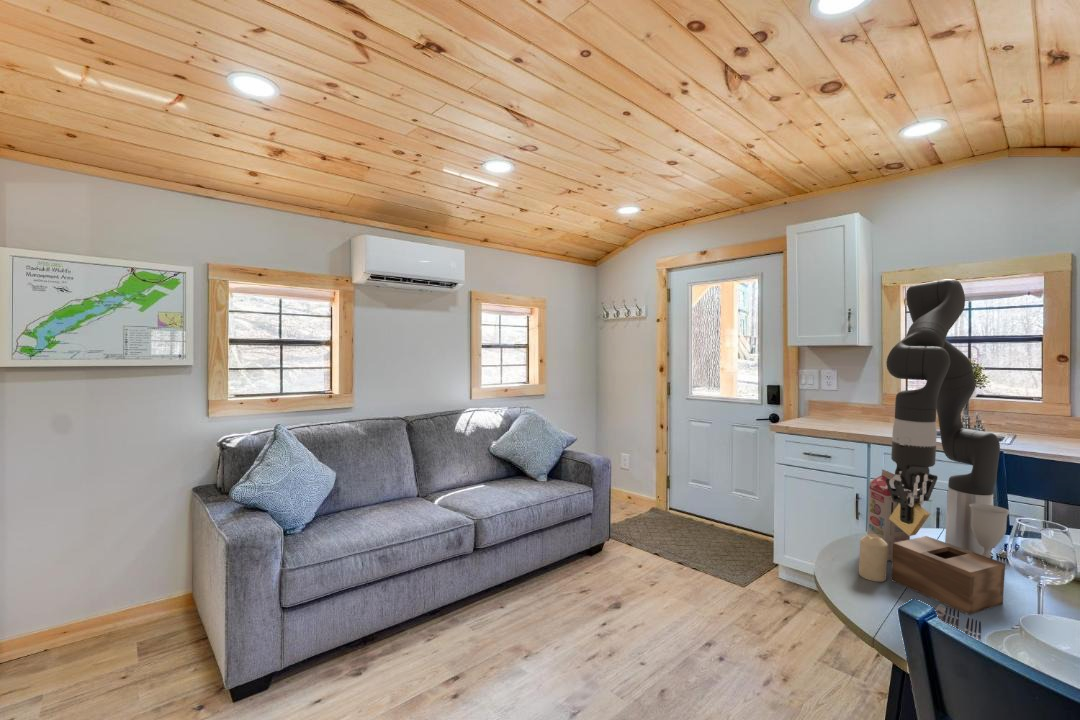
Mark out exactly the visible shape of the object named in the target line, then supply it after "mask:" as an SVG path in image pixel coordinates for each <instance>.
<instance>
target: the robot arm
mask: <svg viewBox="0 0 1080 720" xmlns="http://www.w3.org/2000/svg"><path fill="white" fill-rule="evenodd" d="M965 295H966V294H965V291H964V288H963V285H962V284H961V282H960V281H959V280H957V279H954V278H947V279H939V280H935V281H929V282H923V283H919V284H914V285H910V286H909V287H908V288H907V290H906V294H905V299H906V305H907V309H908V312H909V316H910V318H911V321H912V324H911V325H910V326H909V329H908V331H907V334H906V335H905V337H904V338H903V339H902V340H900V341H899V342H898V343H896V344H895V345H894V346H893V347H892V348H891V349H890V352H889V353H888V355H887V357H886V358H887V359H886V364H885V365H886V369H887V371H888V373H889V374H890V375H891V376H893V377H894V378H896V379H900V380H914V381H915V380H918V381H926V383H925V384H924V386H923V387H921V388H919V389H910V390H902V391H899V392H898V393H896V395H895V403H894V404H895V405H894V421H893V426H892V435H891V437H892V439H891V460H892V461H893V462H894V463H895V464H896V468H895V471H894V474H895V476H894V477H893V478H892V479H890V478H887V479H886V484H887V487H888V489H889V492H890V494H891V497H892V500H893V501H894V502H897V503H900V520H901V521H902V522H904V523H907V524H911V523H912V518H913V505H914V502H915V503H917V504H918V505H919V506H921V507H922V506H923V504H924V503H925V502H929V500H930V498H931V496H932V493H933V491H934V488H935V486H936V484H937V481H938V475H936V474H933V473H930V468H931V467H934V466H935V465H936V454H937V451H936V450H937V439H938V438H937V435H938V432H937V431H938V430H937V420H938V426H939V433H940V435H939V436H940V442H941V447H942V451H943V453H944V455H945V456H946V457H947V459H948V460H950V461H953V462H956V463H962V464H966V465H970V466H972V468H971V472H970V473H966V474H954V475H951V476H950V477H949V479H948V485H947V486H948V487H947V489H948V490H947V504H946V505H947V507H946V521H945V536H944V537H945V538H944V542H945V543H948V544H951V545H954V546H956V547H959V548H962V549H965V550H968V551H971V552H974V553H977V554H979V555H982V554H983V553H984V547H982V546H981V545H979V543H978V541H977V539H976V537H975V535H974V533H973V530H972V528H971V515H972V510H971V508H970V506H969V505H970V504H987V505H993V506H994V491H995V486H996V483H997V477H998V468H999V460H1000V453H1001V445H1000V444H1001V443H1000V440H999V438H998V436H997V434H995V433H993V432H988V431H984V430H977V429H971V428H965V426H964V425H963V421H962V411H963V409H964V408H965V406H966V405H967V404H968V401H969V400H970V399H971V398H972V397H973V394H974V392H975V390H976V380H975V373H974V371H973V370H974V369H973V367H972V366H973V364H972V363H971V361H970V359H969V358H968V356H967V355H965V354H964V353H963V352H962V351H961V350H959V348H957V347H956V346H955V345H953V343H951V342H950V341H948V340H947V339H946V338H947V336H948V333H949V332H950V329H951V328H952V327H953V326H954V325H955V323H956V322H957V321H958V319H959V318H960V317H961V315H962V314H963V313H964V312H963V311H964V309H965V306H966V296H965ZM905 489H906V490H905ZM906 495H908V499H907V497H906ZM991 550H992V548H990V551H989V552H990V553H991Z"/></svg>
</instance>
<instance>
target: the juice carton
mask: <svg viewBox="0 0 1080 720" xmlns="http://www.w3.org/2000/svg"><path fill="white" fill-rule="evenodd" d="M894 476H895V473H893V472H890V471H888V470H885V469H881V475H879V476H878V477H875V478H873V479H872V480H870V481H869V487H868V488H869V490H868V505H867V507H868V509H867V510H868V511H867V527H866V535H867V534H876V535H877V536H879V537H880V538H882V539H883V540H884V541H885V542H886V543H887V544H888V550H887V560H892V558H893V543H895V542H900V541H905V540H910V539H911V536H909V535H908V534H906V533H905V532H904V531H903V530H902V529H900V528H899V527H898V526H897V525H896V524H895V523H893V522H892V521H891V520H890V519H889V518H890V516H891V514H892V513H893V511H894V510H895V508H896V507H897V505H898V504H899V503H897V502H894V501H893V500H892V497H891V494H890V492H889V489H888V487H887V484H886V479H887V478H890V479H892V478H893V477H894ZM905 490H906V489H905ZM906 497H908V495H906Z"/></svg>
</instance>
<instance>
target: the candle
mask: <svg viewBox="0 0 1080 720" xmlns="http://www.w3.org/2000/svg"><path fill="white" fill-rule="evenodd" d="M859 540H860V541H859V559H858V560H859V561H858V564H859V565H858V575H859V576H860V577H861V578H863V579H866V580H868V581H872V582H877V583H878V582H885V581H886V579H887V569H888V568H887V566H888V561H887V550H888V544H887V543H886V542H885V541H884V540H883V539H882V538H880V537H879V536H877V535H876V534H867V533H866V535H864V536H862V537H861V538H860V539H859Z"/></svg>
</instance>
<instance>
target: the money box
mask: <svg viewBox="0 0 1080 720" xmlns="http://www.w3.org/2000/svg"><path fill="white" fill-rule="evenodd" d="M1005 571H1006V563H1005V562H1002V561H1000V560H996V559H994V558H992V557H991V558H988V557H985V556H982V555H979V554H977V553H974V552H971V551H968V550H965V549H962V548H959V547H956V546H954V545H951V544H948V543H945V541H941V540H940V539H936V538H933V537H930V536H928V535H924V536H921V537H915V538H910V540H905V541H900V542H895V543H893V558H892V562H891V579H890V580H891V581H892V580H893V581H892V582H894V581H895V583H897V584H899V585H901V586H903V587H906V588H907V589H911V590H913V591H915V592H917V593H919V594H921V595H923V596H925V597H928V598H930V599H933V600H934V601H937V602H939V603H942V604H944V605H945V606H948V607H951V608H953V609H955V610H958V611H960V612H962V613H963V614H966V615H971V614H975V613H978V612H981V611H985V610H987V609H991V608H994V607H998V606H1001V605H1003V604H1004V590H1005V577H1006V576H1005V574H1006V572H1005Z"/></svg>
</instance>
